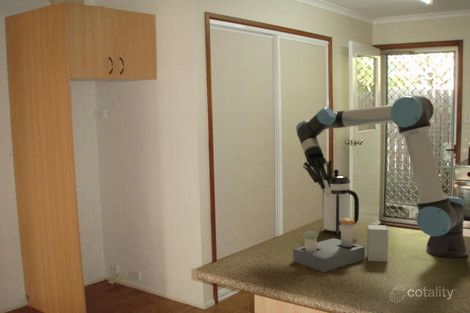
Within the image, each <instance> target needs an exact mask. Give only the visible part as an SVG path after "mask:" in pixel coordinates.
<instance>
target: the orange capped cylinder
mask: <svg viewBox="0 0 470 313" xmlns="http://www.w3.org/2000/svg"><path fill="white" fill-rule="evenodd" d="M340 223H341V231H340V240H341V246H344V247H351V246H353V244H354V225H355V224H354V223H355V220H354V218H350V217H349V218H341V219H340Z"/></svg>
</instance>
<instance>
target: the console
mask: <svg viewBox="0 0 470 313" xmlns="http://www.w3.org/2000/svg"><path fill="white" fill-rule="evenodd" d="M365 250H366V248H365V246H363V245H359V244H356V243H353V246H351V247H344V246H341V239H337V238H334V237H333V238H329V239H325V240H321V241H317V251H316V252H312V253H310V252H307V251H305V245H301V246H299V247H296V248H293V251H292V252H293V253H292V254H293V256H292V258H293V260H292V261H293V262H294V263H297V264H300V265H304V266H306V267H308V268H311V269H314V270H316V271H320V272H322V273H326V272H328V271H329V272H330V271H332V270H336V269H338V268H341V267H344V266H347V265H351V264H354V263H357V262H361V261H363V260H365V252H366V251H365Z"/></svg>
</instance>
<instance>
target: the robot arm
mask: <svg viewBox="0 0 470 313" xmlns="http://www.w3.org/2000/svg"><path fill="white" fill-rule="evenodd" d="M433 116H434V105H433V103H432V101H431V100H430V99H429V98H427V97H425V96H421V95H405V96H401V97H399V98H398V99H396V100H395V101H394V102H393V104H386V105H379V106H373V107H364V108H363V107H362V108H353V109H348V110H340V111H339V110H338V111H333V110H332V109H331V108H329V107H323V108H322V109H320V110H319V111H318V112H316V114H315V115H314V116H313V117H311V119H309V120H303V121H301V122H298V123H297V125H296V127H295V131H296V135H297V137H298V140H299V142H300V145H301V148H302V151H303V154H304V156H305V159H306V161H305V162H303V165H302V167H303V169H305V170H306V172H307V173H308V174H309V177H310V178H311V179H312V181H313V183H315V184H316V183H318V185H319V186H320V189H321V190H322V191H323V190H324V192H325V195H326V197H330V195H331V190H330V187H331V185H330V183H329V182H330V181H331V179H332V174H333V173H332V172H333V171H332V163H333V161H332V160H327V159H326V158H325V156H324V153H323V151H322V148H321V145H320V142H319V140H318V138H317V137H319V135H321V133H323V132H324V131H325V130H329V129H341V128H347V127H348V128H349V127H360V126H372V125H381V124H391V123H394V124H395V125H396V126H397V130H398V132H399V135H401V136H402V137H403V138H404V140H405V145H406V148H407V152H408V157H409V159H410V164H411V165H410V166H411V170H412V173H413V176H414V180H415V184H416V189H417V193H418V199H417V201H416V206H417V211H418V212H417V215H416V224H417V227H418V228H419V230H421V232H423V233H424V234H426V235H427V236H429V238H428V240H427V243H426V252H427V253H428V254H431V255H434V256H437V257H441V258H442V257H443V258H450V259H452V258H456V259H457V258H464V257H466V256H467V255H468V247H467V244H466V241H465V237H464V218H465V217H464V215H465V213H464V212H465V200H464V199H463V198H462V197H459V196H452V195H451V196H450V195H446V194H445V193H444V192H443V187H442V184H441V180H440V175H439V172H438V168H437V164H436V159H435V155H434V152H433V148H432V143H431V139H430V136H429V130H430V129H431V127H432V126H431V122H430V121H431V119H432V118H433ZM325 167H326V169H325Z"/></svg>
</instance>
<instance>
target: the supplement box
mask: <svg viewBox="0 0 470 313" xmlns="http://www.w3.org/2000/svg"><path fill="white" fill-rule="evenodd" d="M366 226H367V228H366V229H367V230H366V231H367V232H366V257H367V261H369V262H370V261H371V262H386V263H387V262H388V258H389V257H388V249H389V247H388V246H389V245H388V244H389V243H388V242H389V229H388V227H387V225H382V224H379V225H378V224H367V225H366Z"/></svg>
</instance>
